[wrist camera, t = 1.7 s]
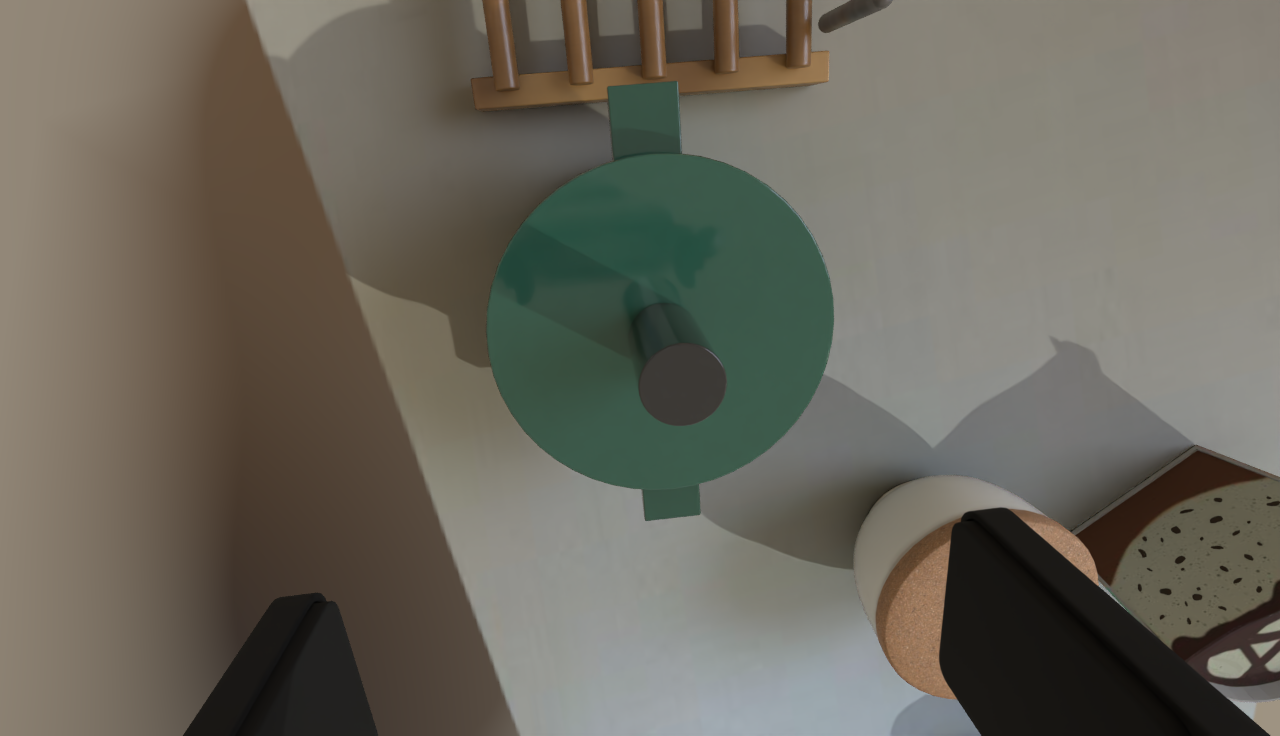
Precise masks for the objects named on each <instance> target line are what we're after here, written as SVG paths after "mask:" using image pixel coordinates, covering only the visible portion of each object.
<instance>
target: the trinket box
mask: <svg viewBox="0 0 1280 736" xmlns="http://www.w3.org/2000/svg"><path fill="white" fill-rule="evenodd" d="M999 507H1003V508H1008V509H1009V510H1011V511H1012V512H1013V513H1015V514H1016V515H1017V516H1018V517H1019V518H1020V519H1021V520H1023V521H1024V522H1025V523H1026V524H1027V525H1028V526H1030V527H1031V528H1032V529H1033V530H1034V531H1035V532H1036V533H1038V534H1039V535H1040V536H1041V537H1042V538H1043V539H1045V540H1046V541H1047V542H1048V543H1049V544H1050V545H1051V546H1053V547H1054V548H1055V549H1056V550H1057V551H1058V552H1059V553H1061V554H1062V555H1063V556H1064V557H1065V558H1066V559H1068V560H1069V561H1070V562H1071V563H1072V564H1073V565H1074V566H1076V567H1077V568H1078V569H1079V570H1080V571H1081V572H1083V573H1084V574H1085V575H1086V576H1087V577H1088V578H1089V579H1091V580H1092V581H1093V582H1094V583H1095V584H1096V585H1098V574H1097V570H1096V566H1095V562H1094V560H1093V558H1092V556H1091V554H1090V552H1089V550H1088V549H1087V548H1086V547H1085V545H1084V544H1083V543H1082V542H1081V541H1080V540H1079V539H1078V538H1077V537H1076V536H1075V535H1074V534H1072V533H1071V532H1070V531H1068V530H1067V529H1066V528H1064V527H1063V526H1062V525H1061V524H1059V523H1058V522H1056V521H1054V520H1052V519H1050V518H1048V517H1047V516H1046V515H1044V514H1043V513H1042V512H1041V511H1039V510H1038V509H1037V508H1035V507H1034V506H1032V505H1031V504H1030V503H1028V502H1027V501H1025V500H1024V499H1022V498H1020V497H1019V496H1017V495H1015V494H1013V493H1012V492H1009V491H1007V490H1005V489H1003V488H1001V487H999V486H997V485H995V484H992V483H990V482H987V481H984V480H980V479H977V478H972V477H968V476H960V475H934V476H928V477H923V478H919V479H916V480H913V481H909V482H906V483H903V484H901V485H898V486H896V487H894V488H893V489H891V490H889V491H888V492H887V493H885V494H884V495H883V496H882V497H881V498H880V499H879V500H878V501H877V502H876V503H875V504H874V506H873V507H872V509H871V510H870V512H869V514H868V515H867V517H866V518H865V520H864V522H863V524H862V526H861V528H860V530H859V533H858V536H857V540H856V543H855V549H854V578H855V582H856V586H857V590H858V594H859V598H860V601H861V604H862V606H863V609H864V611H865V614H866V616H867V618H868V620H869V622H870V624H871V626H872V628H873V630H874V632H875V634H876V636H877V637H878V640H879V643H880V645H881V647H882V649H883V651H884V654H885V656H886V657H887V659H888V661H889V663H890V664H891V666H892V667H893V668H894V670H895V671H896V672H897V674H898V675H899V676H900V677H902V678H903V679H904V680H905V681H906V682H907V683H908V684H910V685H912V686H913V687H915V688H917V689H918V690H921V691H923V692H926V693H928V694H931V695H933V696H937V697H942V698H947V699H957V698H956V697H955V695H954V694H953V692H952V691H951V689H950V688H949V686H948V685H947V683H946V681H945V679H944V677H943V675H942V672H941V668H940V664H939V650H940V640H941V630H942V620H943V610H944V601H945V591H946V581H947V571H948V561H949V551H950V542H951V532H952V527H953V526H954V524H955V523H958V522H961V518H962V516H963V514H964V513H966V512H968V511H975V510H983V509H991V508H999ZM1098 586H1099V585H1098Z"/></svg>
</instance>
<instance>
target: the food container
mask: <svg viewBox="0 0 1280 736" xmlns="http://www.w3.org/2000/svg"><path fill="white" fill-rule="evenodd" d="M1071 533H1072V534H1074V535H1075V536H1076V537H1077V538H1078V539H1079V540H1080V541H1081V542H1082V543H1083V544H1084V545H1085V547H1086V548H1087V549H1088V550H1089V552H1090V554H1091V556H1092V558H1093V560H1094V562H1095V566H1096V570H1097V574H1098V580H1099V581H1100V582H1101V583H1102V584H1103V586H1104V587H1105V588H1106V589H1107V590H1108V591H1109V592H1110V593H1111V594H1112V595H1113V596H1114V597H1115V598H1116V599H1117V600H1118V602H1119V603H1120V604H1121V605H1122V606H1123V607H1124V608H1125V609H1126V610H1127V611H1128V612H1129V613H1130V614H1131V615H1132V616H1133V617H1134V618H1136V619H1137V620H1138V621H1139V622H1140V623H1141V624H1142V625H1144V626H1145V627H1146V628H1147V629H1148V630H1149V631H1150V632H1152V633H1153V634H1154V635H1155V636H1156V637H1157V638H1159V639H1160V640H1161V641H1162V642H1163V643H1164V644H1165V645H1167V646H1168V647H1169V648H1170V649H1171V650H1172V651H1174V652H1175V653H1176V654H1177V655H1178V656H1179V657H1180V658H1182V659H1183V660H1184V661H1185V662H1186V663H1187V664H1188V665H1190V666H1191V667H1192V668H1193V669H1194V670H1195V671H1197V672H1198V673H1199V674H1200V675H1201V676H1202V677H1203V678H1205V679H1206V680H1207V681H1208V682H1209V683H1210V684H1212V685H1213V686H1214V687H1215V688H1216V689H1217V690H1218V691H1220V692H1221V693H1222V694H1223V695H1224V696H1225V697H1227V698H1228V699H1229V700H1233V701H1238V702H1255V703H1256V702H1267V701H1275V700H1279V699H1280V477H1278V476H1275V475H1273V474H1270V473H1268V472H1265V471H1262V470H1260V469H1257V468H1255V467H1252V466H1250V465H1247V464H1244V463H1242V462H1239V461H1237V460H1234V459H1232V458H1229V457H1226V456H1224V455H1221V454H1219V453H1216V452H1214V451H1211V450H1208V449H1206V448H1203V447H1201V446H1198V445H1195V446H1194V447H1192V448H1191V449H1190V450H1188V451H1187V452H1185V453H1184V454H1182V455H1181V456H1180V457H1178V458H1177V459H1175V460H1174V461H1172V462H1171V463H1169V464H1168V465H1167V466H1165V467H1164V468H1162V469H1161V470H1159V471H1158V472H1157V473H1155V474H1154V475H1152V476H1151V477H1149V478H1148V479H1146V480H1145V481H1144V482H1142V483H1141V484H1139V485H1138V486H1136V487H1135V488H1134V489H1132V490H1131V491H1129V492H1128V493H1126V494H1125V495H1123V496H1122V497H1121V498H1119V499H1118V500H1116V501H1115V502H1113V503H1112V504H1111V505H1109V506H1108V507H1106V508H1105V509H1103V510H1102V511H1100V512H1099V513H1098V514H1096V515H1095V516H1093V517H1092V518H1090V519H1089V520H1088V521H1086V522H1085V523H1083V524H1082V525H1080V526H1079V527H1077V528H1076V529H1075V530H1073V531H1072V532H1071Z"/></svg>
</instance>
